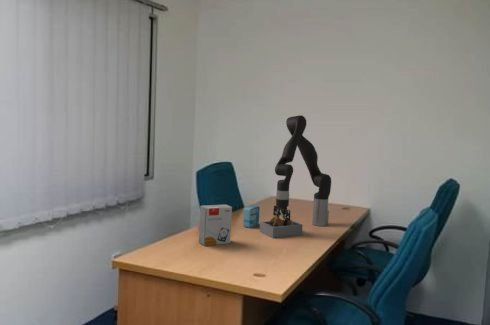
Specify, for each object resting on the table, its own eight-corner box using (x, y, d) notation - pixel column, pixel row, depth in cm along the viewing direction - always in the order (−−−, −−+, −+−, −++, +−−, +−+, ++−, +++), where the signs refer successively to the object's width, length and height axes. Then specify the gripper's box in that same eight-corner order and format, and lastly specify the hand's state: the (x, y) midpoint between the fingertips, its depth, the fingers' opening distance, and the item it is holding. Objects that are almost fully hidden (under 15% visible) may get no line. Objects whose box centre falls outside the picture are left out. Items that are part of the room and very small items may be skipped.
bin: (288, 228, 284) (288, 219, 283) (302, 234, 271) (302, 224, 271) (259, 231, 274) (260, 221, 273) (272, 238, 261) (273, 227, 260)
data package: (249, 228, 280) (250, 209, 279) (242, 227, 283) (243, 208, 281) (258, 224, 291) (259, 206, 289) (252, 223, 293) (253, 205, 292)
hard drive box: (203, 246, 240) (205, 208, 238) (198, 242, 247) (199, 205, 244) (230, 243, 247) (232, 206, 245) (224, 239, 254) (226, 203, 252)
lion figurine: (283, 233, 277) (289, 219, 278) (288, 235, 272) (294, 221, 273) (264, 223, 270) (271, 209, 271) (269, 224, 265) (276, 210, 267)
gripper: (294, 199, 266) (293, 227, 268) (281, 195, 278) (279, 221, 280) (284, 200, 262) (282, 228, 264) (270, 196, 274) (269, 222, 276)
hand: (281, 225), depth 272 cm, fingers open, 8 cm apart
